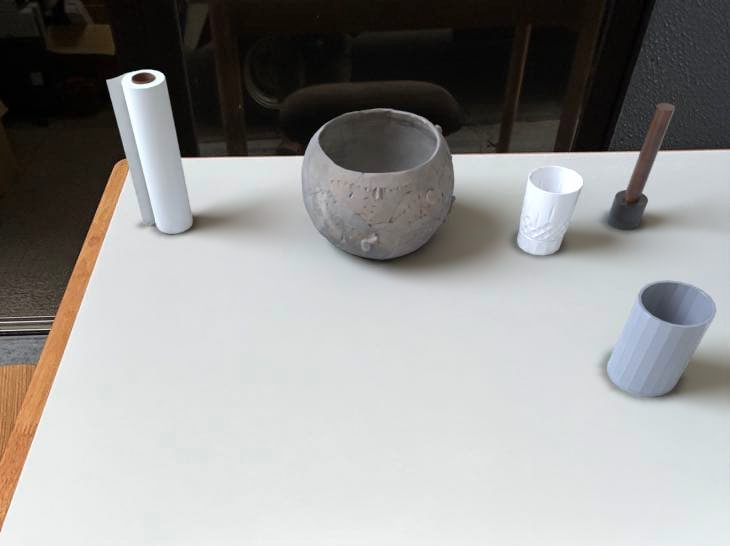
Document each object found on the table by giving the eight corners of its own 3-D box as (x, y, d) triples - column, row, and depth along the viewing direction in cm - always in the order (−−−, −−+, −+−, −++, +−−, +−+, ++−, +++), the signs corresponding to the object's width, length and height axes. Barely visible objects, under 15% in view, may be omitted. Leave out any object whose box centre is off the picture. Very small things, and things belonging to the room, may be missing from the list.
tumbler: (682, 365, 87) (723, 293, 78) (666, 406, 83) (707, 336, 74) (617, 344, 89) (649, 272, 80) (598, 383, 85) (629, 312, 76)
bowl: (278, 255, 102) (269, 155, 90) (340, 184, 114) (340, 87, 101) (414, 293, 97) (425, 192, 84) (466, 214, 108) (482, 115, 95)
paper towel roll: (200, 221, 108) (173, 73, 90) (176, 239, 105) (143, 90, 88) (168, 208, 110) (135, 62, 93) (144, 225, 108) (105, 78, 90)
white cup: (518, 225, 106) (534, 161, 97) (567, 235, 104) (587, 170, 96) (508, 252, 102) (523, 188, 93) (559, 262, 100) (578, 198, 92)
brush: (642, 219, 106) (688, 103, 92) (633, 234, 104) (680, 118, 90) (611, 211, 108) (652, 95, 93) (602, 226, 105) (643, 110, 91)
